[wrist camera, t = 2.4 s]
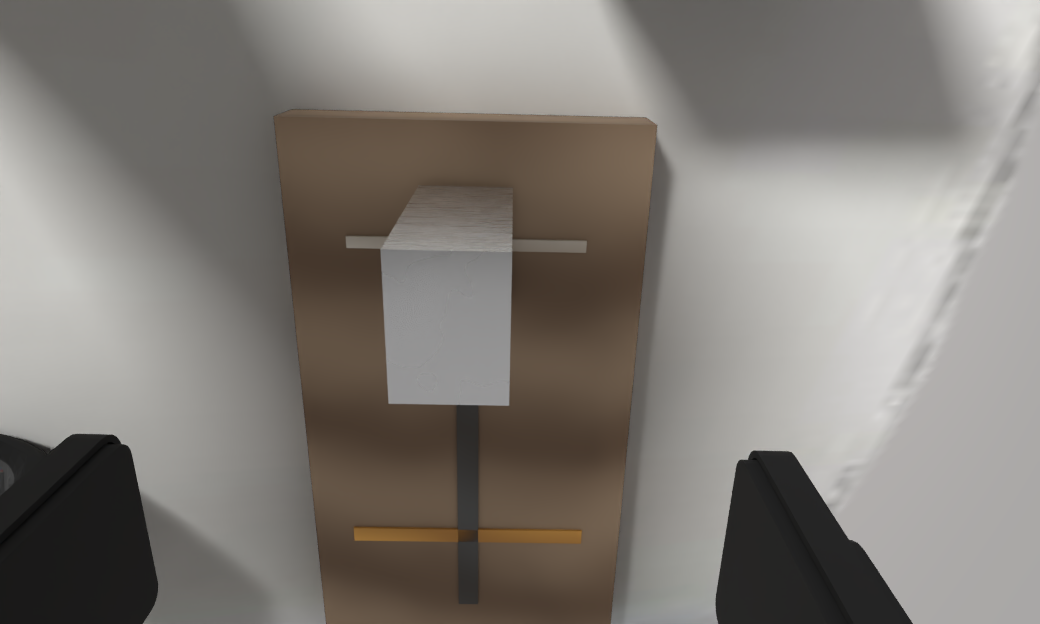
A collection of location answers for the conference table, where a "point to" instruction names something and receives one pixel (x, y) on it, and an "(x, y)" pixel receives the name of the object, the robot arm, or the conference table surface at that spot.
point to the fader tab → (449, 297)
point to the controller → (16, 460)
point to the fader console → (469, 428)
